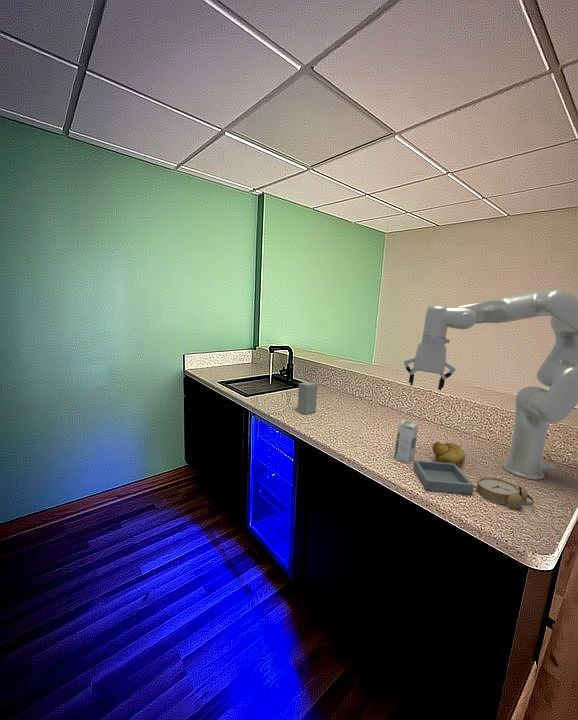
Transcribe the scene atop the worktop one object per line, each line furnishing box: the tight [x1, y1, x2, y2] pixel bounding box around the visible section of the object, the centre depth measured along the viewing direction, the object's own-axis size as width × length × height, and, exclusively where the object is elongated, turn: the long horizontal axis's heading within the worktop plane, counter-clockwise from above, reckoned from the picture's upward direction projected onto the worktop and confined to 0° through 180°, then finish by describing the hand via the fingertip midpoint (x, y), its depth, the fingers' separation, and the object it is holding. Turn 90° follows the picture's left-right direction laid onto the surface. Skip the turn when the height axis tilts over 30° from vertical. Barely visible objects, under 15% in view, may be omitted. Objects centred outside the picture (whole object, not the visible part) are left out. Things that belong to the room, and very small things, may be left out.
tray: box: [412, 459, 475, 496], centre depth 107 cm, size 14×14×4 cm
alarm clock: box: [473, 477, 535, 510], centre depth 100 cm, size 11×5×15 cm
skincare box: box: [297, 381, 318, 416], centre depth 171 cm, size 8×7×16 cm
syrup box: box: [393, 419, 420, 464], centre depth 122 cm, size 6×6×14 cm
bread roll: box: [432, 441, 466, 467], centre depth 121 cm, size 13×10×8 cm
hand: (425, 387), depth 117 cm, fingers open, 9 cm apart
